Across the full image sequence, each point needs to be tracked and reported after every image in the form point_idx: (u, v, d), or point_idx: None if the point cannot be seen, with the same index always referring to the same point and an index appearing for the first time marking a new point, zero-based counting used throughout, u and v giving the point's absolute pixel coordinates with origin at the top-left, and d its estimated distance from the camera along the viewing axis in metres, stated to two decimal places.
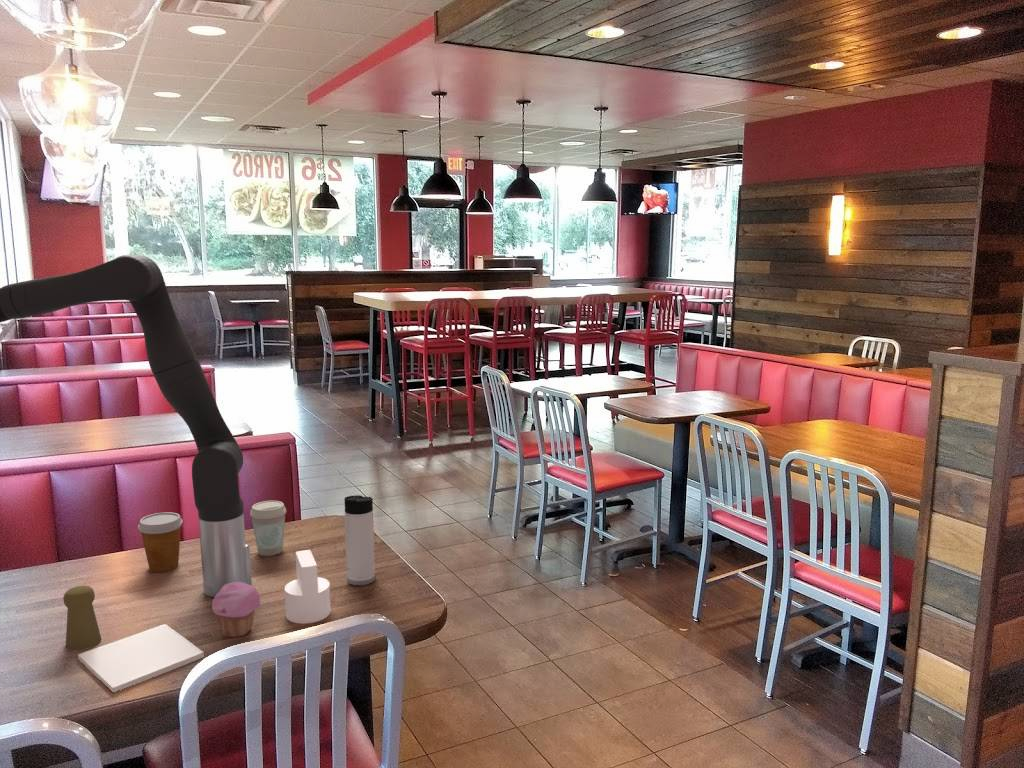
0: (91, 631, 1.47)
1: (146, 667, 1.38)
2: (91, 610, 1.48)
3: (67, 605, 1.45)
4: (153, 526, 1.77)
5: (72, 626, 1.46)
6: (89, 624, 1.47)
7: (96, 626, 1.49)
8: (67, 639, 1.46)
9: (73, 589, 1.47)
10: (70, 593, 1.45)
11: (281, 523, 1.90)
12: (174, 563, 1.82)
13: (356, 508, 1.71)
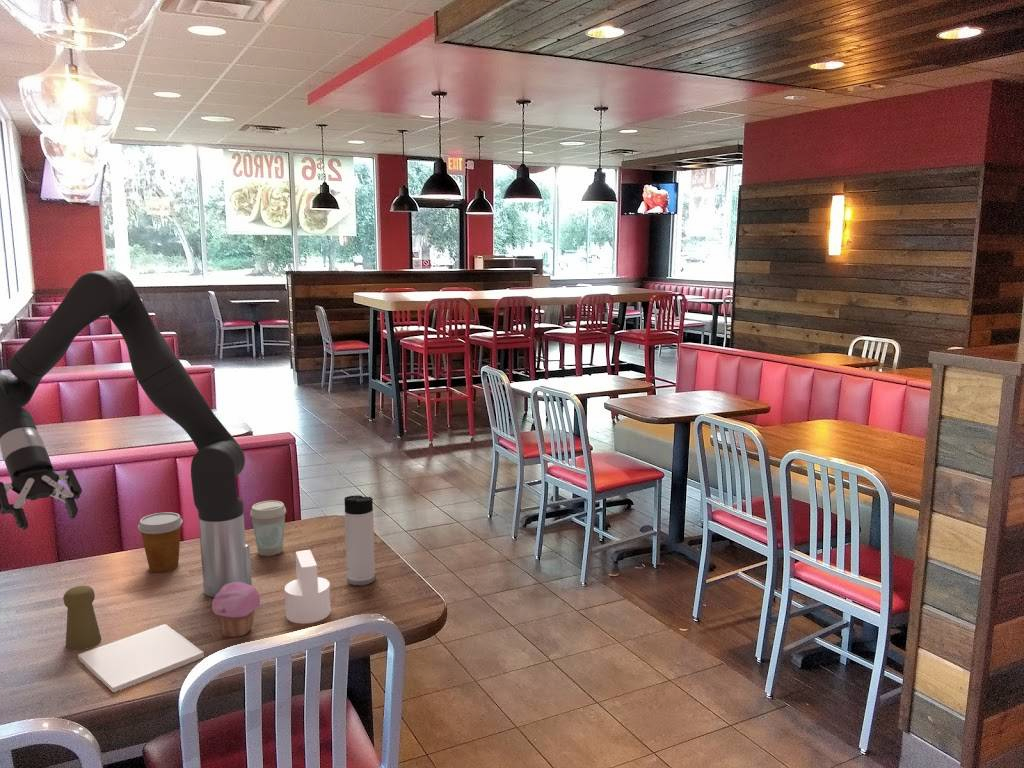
0: (91, 631, 1.47)
1: (146, 667, 1.38)
2: (91, 610, 1.48)
3: (67, 605, 1.45)
4: (153, 526, 1.77)
5: (72, 626, 1.46)
6: (89, 624, 1.47)
7: (96, 626, 1.49)
8: (67, 639, 1.46)
9: (73, 589, 1.47)
10: (70, 593, 1.45)
11: (281, 523, 1.90)
12: (174, 563, 1.82)
13: (356, 508, 1.71)
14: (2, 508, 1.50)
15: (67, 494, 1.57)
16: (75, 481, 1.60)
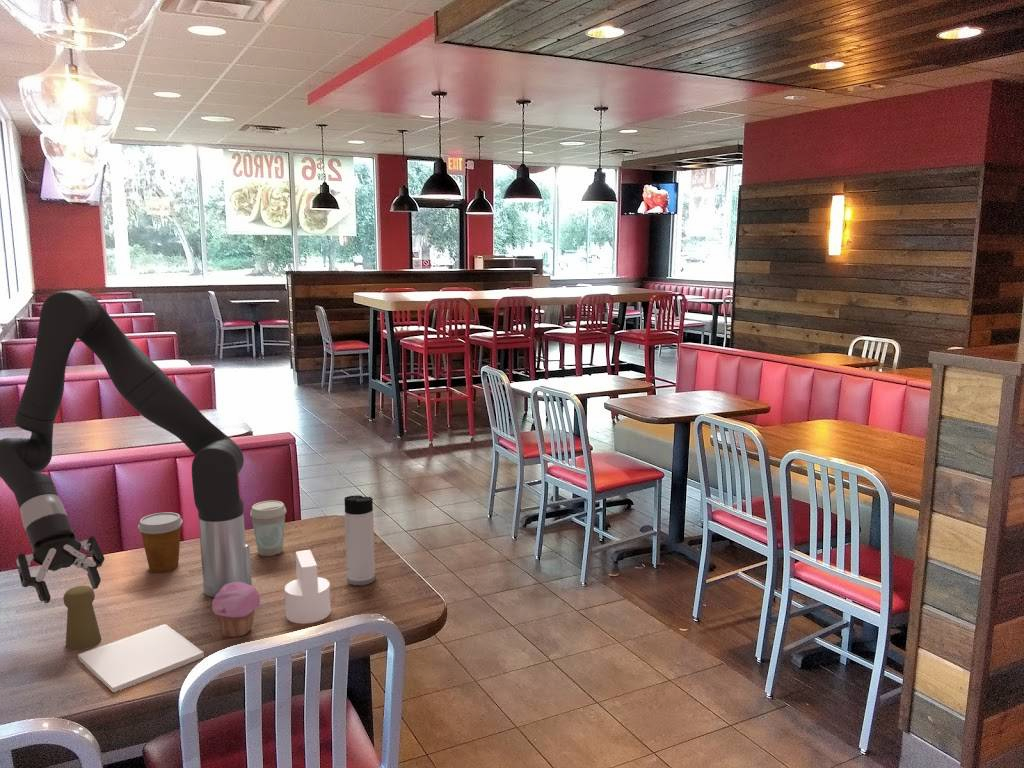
0: (91, 631, 1.47)
1: (146, 667, 1.38)
2: (91, 610, 1.48)
3: (67, 605, 1.45)
4: (153, 526, 1.77)
5: (72, 626, 1.46)
6: (89, 624, 1.47)
7: (96, 626, 1.49)
8: (67, 639, 1.46)
9: (73, 589, 1.47)
10: (70, 593, 1.45)
11: (281, 523, 1.90)
12: (174, 563, 1.82)
13: (356, 508, 1.71)
14: (24, 581, 1.46)
15: (89, 563, 1.54)
16: (97, 549, 1.56)
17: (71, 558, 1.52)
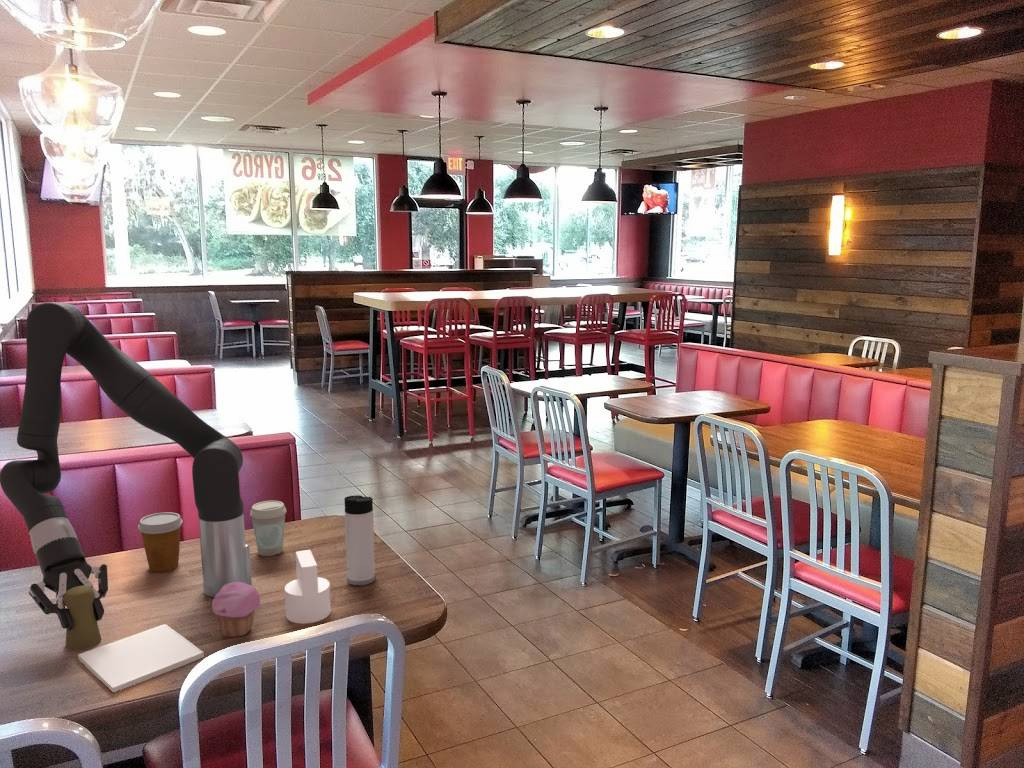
0: (91, 631, 1.47)
1: (146, 667, 1.38)
2: (91, 610, 1.48)
3: (67, 605, 1.45)
4: (153, 526, 1.77)
5: None
6: (89, 623, 1.47)
7: (96, 626, 1.49)
8: (67, 639, 1.46)
9: (73, 589, 1.47)
10: (70, 593, 1.45)
11: (281, 523, 1.90)
12: (174, 563, 1.82)
13: (356, 508, 1.71)
14: (46, 609, 1.44)
15: None
16: (104, 578, 1.53)
17: (78, 584, 1.49)
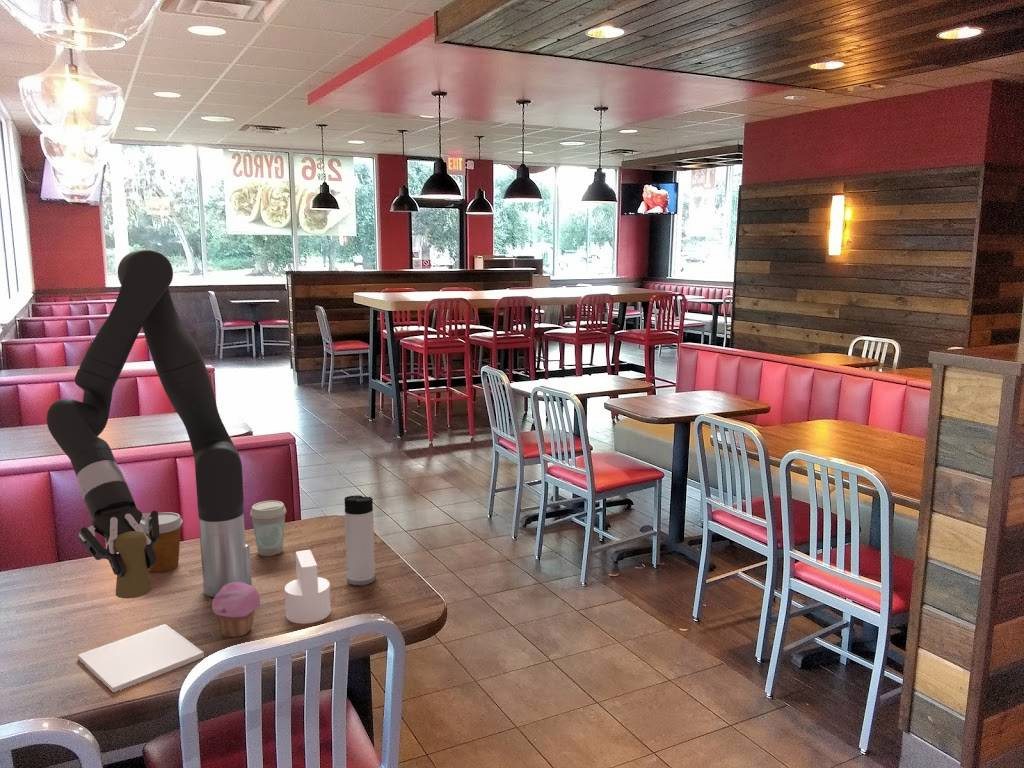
0: (143, 579, 1.39)
1: (146, 667, 1.38)
2: (143, 556, 1.40)
3: (119, 550, 1.37)
4: None
5: None
6: (141, 571, 1.39)
7: (148, 574, 1.41)
8: (118, 586, 1.38)
9: (125, 534, 1.39)
10: (122, 537, 1.37)
11: (281, 523, 1.90)
12: (174, 563, 1.82)
13: (356, 508, 1.71)
14: (97, 554, 1.36)
15: None
16: (156, 525, 1.45)
17: (129, 529, 1.42)
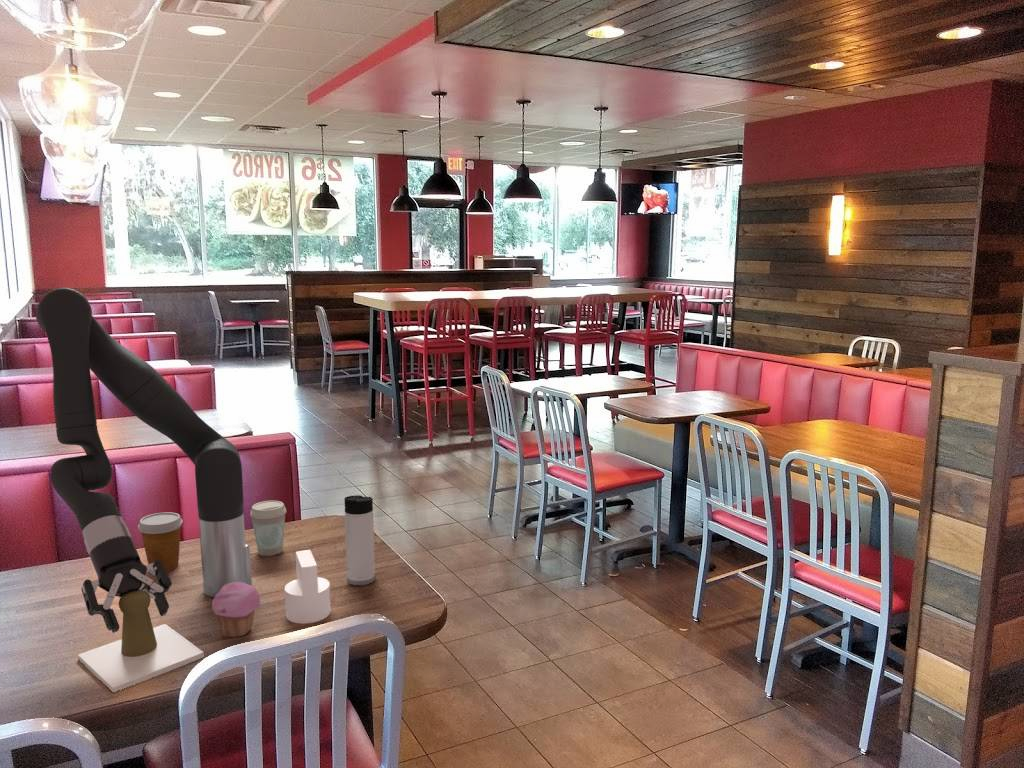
0: (148, 637, 1.43)
1: (146, 667, 1.38)
2: (147, 615, 1.43)
3: (123, 611, 1.41)
4: (153, 526, 1.77)
5: (128, 632, 1.42)
6: (146, 629, 1.43)
7: (152, 631, 1.45)
8: (123, 645, 1.42)
9: (129, 594, 1.42)
10: (126, 598, 1.41)
11: (281, 523, 1.90)
12: (174, 563, 1.82)
13: (356, 508, 1.71)
14: (91, 610, 1.37)
15: (157, 589, 1.45)
16: (164, 573, 1.48)
17: (138, 583, 1.44)
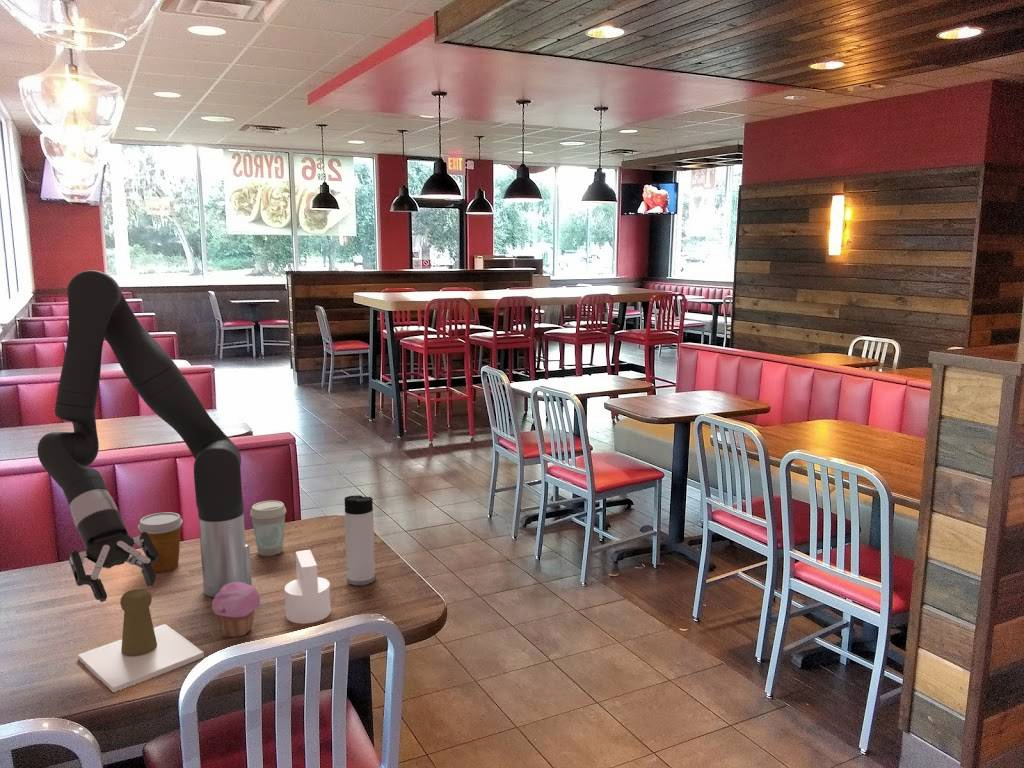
0: (148, 636, 1.43)
1: (146, 667, 1.38)
2: (148, 614, 1.44)
3: (125, 608, 1.41)
4: (153, 526, 1.77)
5: (129, 631, 1.42)
6: (147, 628, 1.43)
7: (152, 631, 1.45)
8: (123, 644, 1.42)
9: (130, 592, 1.43)
10: (128, 596, 1.42)
11: (281, 523, 1.90)
12: (174, 563, 1.82)
13: (356, 508, 1.71)
14: (79, 580, 1.40)
15: (144, 560, 1.48)
16: (150, 545, 1.50)
17: (125, 555, 1.47)
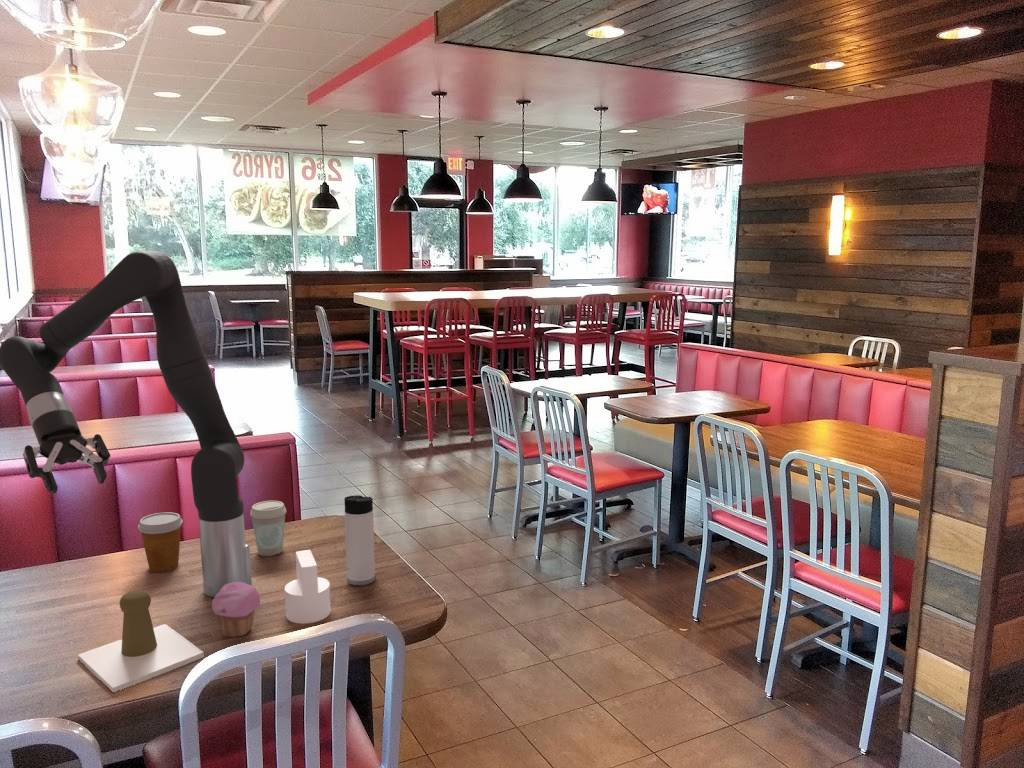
0: (148, 637, 1.43)
1: (146, 667, 1.38)
2: (148, 615, 1.44)
3: (124, 610, 1.41)
4: (153, 526, 1.77)
5: (128, 632, 1.42)
6: (146, 629, 1.43)
7: (152, 631, 1.45)
8: (123, 645, 1.42)
9: (129, 593, 1.43)
10: (127, 598, 1.41)
11: (281, 523, 1.90)
12: (174, 563, 1.82)
13: (356, 508, 1.71)
14: (31, 471, 1.47)
15: (95, 459, 1.55)
16: (103, 446, 1.58)
17: (77, 453, 1.54)
